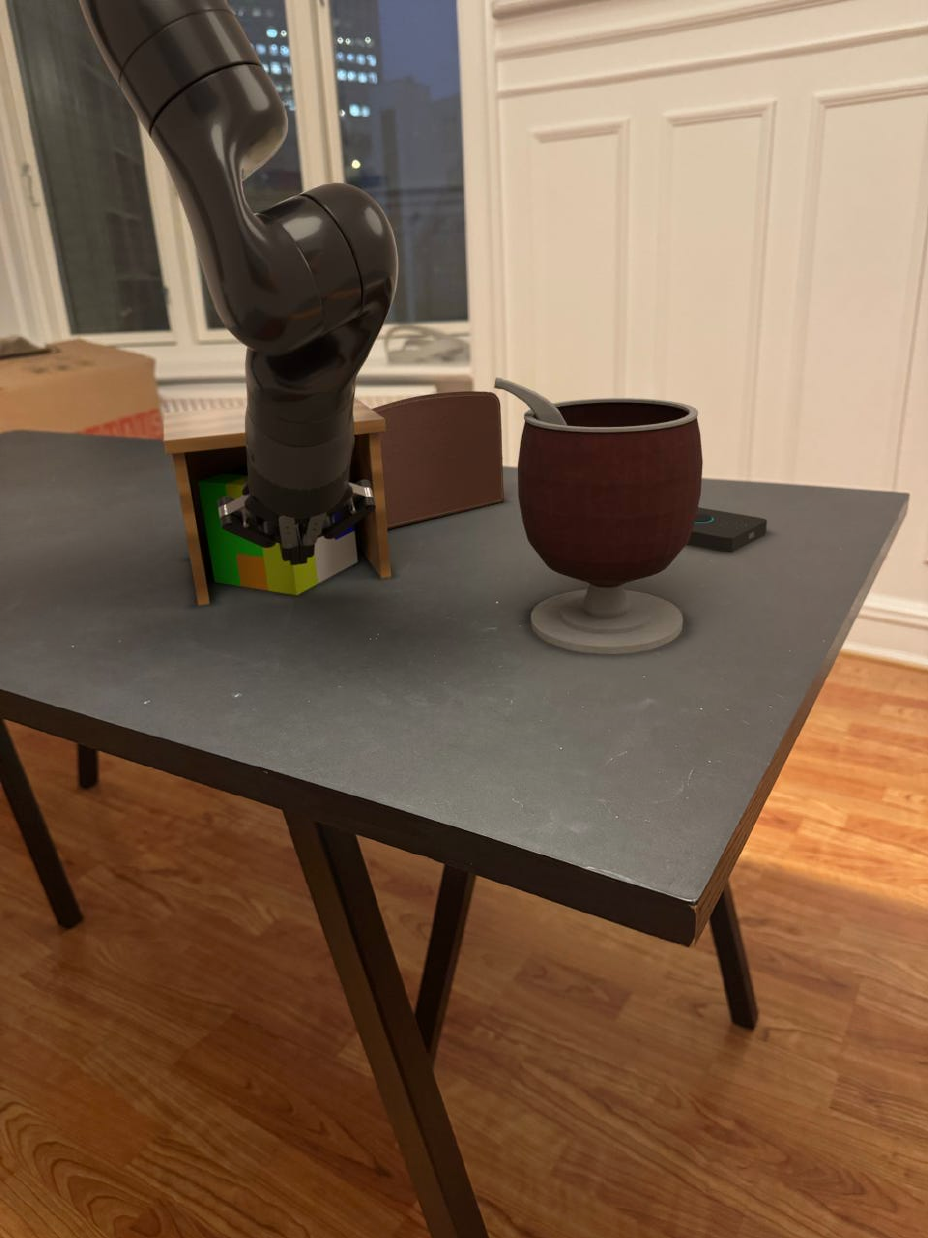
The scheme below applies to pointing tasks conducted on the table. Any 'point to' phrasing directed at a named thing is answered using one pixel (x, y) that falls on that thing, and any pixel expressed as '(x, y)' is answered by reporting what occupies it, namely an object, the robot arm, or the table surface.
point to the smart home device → (725, 530)
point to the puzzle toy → (265, 565)
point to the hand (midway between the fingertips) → (296, 555)
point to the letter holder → (440, 455)
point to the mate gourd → (607, 512)
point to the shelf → (220, 446)
